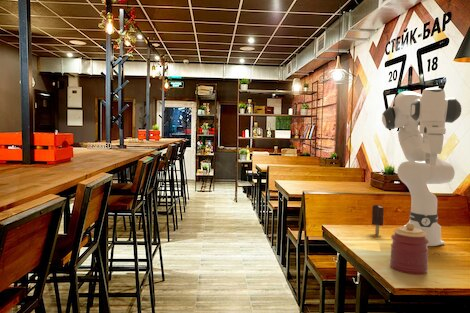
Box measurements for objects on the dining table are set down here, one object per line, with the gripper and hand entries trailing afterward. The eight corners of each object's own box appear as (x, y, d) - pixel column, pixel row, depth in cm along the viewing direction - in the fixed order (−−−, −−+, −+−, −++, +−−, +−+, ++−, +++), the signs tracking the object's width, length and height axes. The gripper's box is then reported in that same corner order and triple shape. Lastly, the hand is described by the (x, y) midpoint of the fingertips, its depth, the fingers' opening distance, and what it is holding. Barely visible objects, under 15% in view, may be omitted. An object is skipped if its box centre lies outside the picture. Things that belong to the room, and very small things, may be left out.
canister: (432, 277, 138) (435, 228, 137) (394, 274, 140) (396, 226, 139) (421, 264, 151) (423, 220, 150) (386, 262, 153) (388, 218, 152)
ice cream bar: (382, 234, 196) (383, 205, 195) (382, 235, 195) (383, 205, 194) (371, 233, 199) (373, 204, 198) (371, 233, 197) (372, 204, 196)
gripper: (418, 129, 163) (417, 162, 163) (427, 128, 143) (426, 166, 144) (435, 129, 161) (433, 163, 162) (446, 129, 141) (445, 166, 142)
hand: (430, 164), depth 153 cm, fingers open, 8 cm apart
